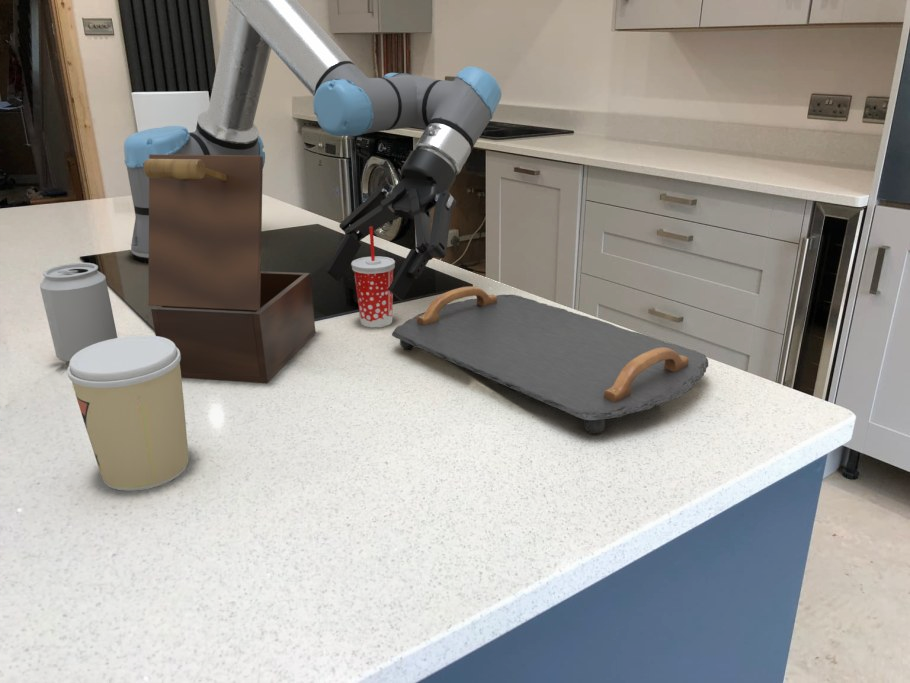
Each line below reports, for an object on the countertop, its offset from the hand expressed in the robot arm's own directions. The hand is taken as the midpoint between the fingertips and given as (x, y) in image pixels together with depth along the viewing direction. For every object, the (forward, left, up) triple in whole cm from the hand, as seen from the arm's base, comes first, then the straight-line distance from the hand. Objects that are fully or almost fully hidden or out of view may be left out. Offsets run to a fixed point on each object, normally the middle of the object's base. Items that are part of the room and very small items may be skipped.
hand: (362, 285), depth 103 cm
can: (+16, -33, -6) cm, 37 cm away
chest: (+12, -13, -6) cm, 19 cm away
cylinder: (-71, -66, -6) cm, 97 cm away
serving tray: (+10, +26, -6) cm, 28 cm away
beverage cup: (-2, +1, -6) cm, 7 cm away
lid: (+17, -13, +11) cm, 24 cm away
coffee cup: (+40, -10, -6) cm, 42 cm away
